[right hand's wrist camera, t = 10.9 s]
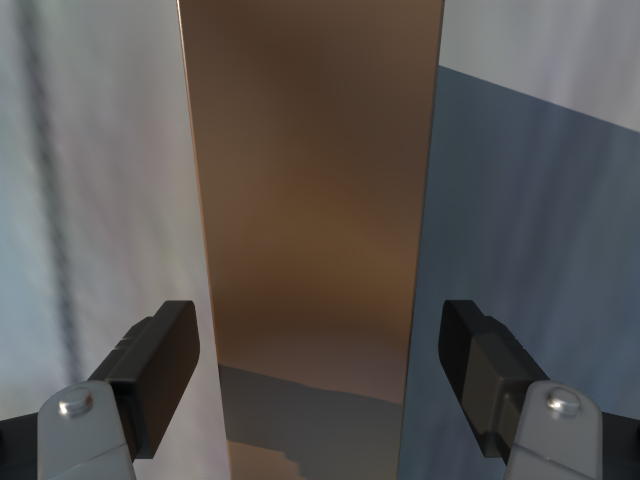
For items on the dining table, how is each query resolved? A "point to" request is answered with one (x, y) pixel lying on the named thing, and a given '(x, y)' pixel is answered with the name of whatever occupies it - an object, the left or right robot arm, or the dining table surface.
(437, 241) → the dining table surface
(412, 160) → the post
